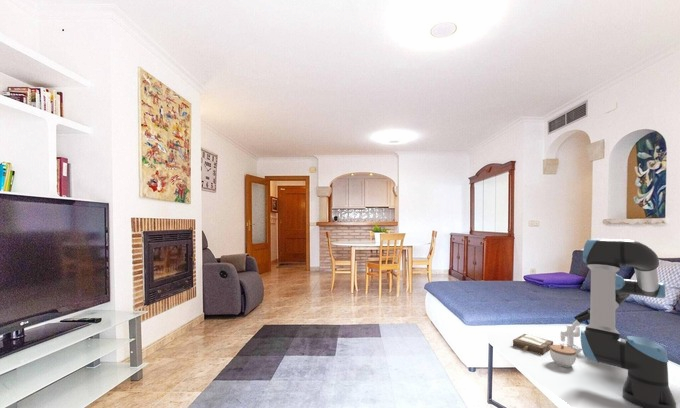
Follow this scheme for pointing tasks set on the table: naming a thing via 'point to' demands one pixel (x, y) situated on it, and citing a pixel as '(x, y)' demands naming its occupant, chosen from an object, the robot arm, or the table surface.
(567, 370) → the table surface
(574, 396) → the table surface
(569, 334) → the figurine
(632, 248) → the robot arm
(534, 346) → the wooden box
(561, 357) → the lidded jar
